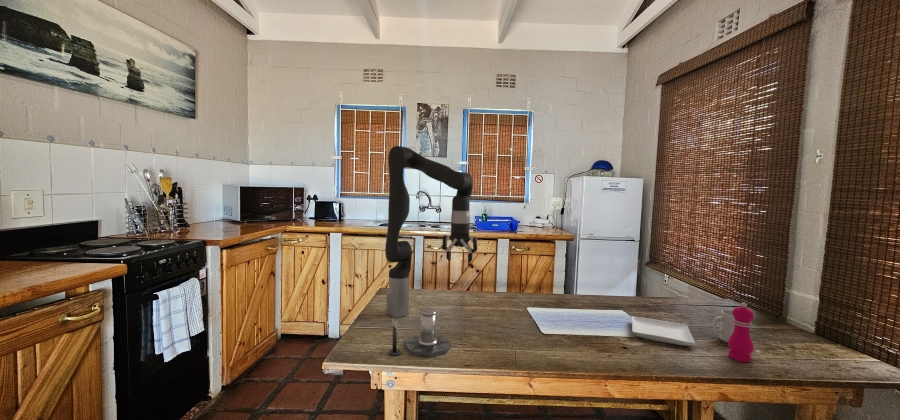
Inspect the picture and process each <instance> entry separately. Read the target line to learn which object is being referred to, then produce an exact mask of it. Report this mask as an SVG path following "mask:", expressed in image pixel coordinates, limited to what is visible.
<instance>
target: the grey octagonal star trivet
mask: <svg viewBox="0 0 900 420" xmlns="http://www.w3.org/2000/svg"><path fill="white" fill-rule="evenodd" d="M419 338H421V333H420V334H416V335H410V336H409V337H408V338H407V339H411V340H410V341H404V342H403V349H404V350H405V351H406V352H408V354H409V355H410V356H414V357H415V356H416V357H421V358H428V359H429V358H433V357H440V356H443V355H444V356H445V355H446V354H448V352H449V350H450V348H451V347H452V341H451V340H449V339H448V338H447V337H445V336H444V335H443V334H436V333H435V338H436V339H437V344H436V345H434V346H431V347H425V346H421V345H419V343H418V340H419Z"/></svg>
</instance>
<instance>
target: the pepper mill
mask: <svg viewBox="0 0 900 420" xmlns="http://www.w3.org/2000/svg"><path fill="white" fill-rule="evenodd" d="M732 311H733V312H732V315H733V317H734V318H735V319H734V322H733V323H734V324H735V328H734V332H733V334H732V335H731V336H730V338H729V340H728V342H727V346H728V348H729V350H728V356H729V357H730V358H732V359H733V360H735V361H739V362H743V363H750V362H751V361H752V355H751V354H752V353H754V348H755V347H754V343H753V341H752V338H751V335H750V328H751V327H752V322H753V320H754V318H755V314H754V312H753V310H751V308H749V307H748V304H747V303H745V302H741V303H740V306H736V307H733V309H732Z"/></svg>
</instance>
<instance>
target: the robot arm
mask: <svg viewBox="0 0 900 420" xmlns="http://www.w3.org/2000/svg"><path fill="white" fill-rule="evenodd" d="M387 160H388V161H387V162H388V177H389V178H388V179H389V184H388V191H389V193H388V208H387V209H388V213H387V214H388V221H387V233H386V240H385V248H384V249H385V250H384V253H385V258H386V260H387V262H388V263H392V264H393V263H396V264H395V266H394V267H392V268H391V269H389V270H388V292H387V293H386V315H388V316H391V317H392V318H399V317H405V316H408V315H409V313H410V308H409V307H410V273H411V269H412V258H413V257H412V255H413V249H412V245H411V243H410V242H409V241H408V240H399V238H400V237H399V236H400V232H401V229H402V227H403V225H404V224H405V222H406V220H407V218H408V216H409V214H410V206H411V205H410V202H411V199H410V194H409V192H408V188H407V186H406V183H405V179H404V169H412V170H413V169H414V170H418V171H419V172H421V173H424V174H425V175H426V176H427V177H429V178H431V179H433V180H436V181H437V182H440V183H443V184H444V185H446V186H448V187H450V188H452V189H453V190H456V195H455V196H453V197H452V200H451V201H452V202H451V216H450V217H451V219H450V235H447V234H444V235H443V236H442V244H441V245H442V246H441V250H443V251H445V252H446V256H445V259H446V260H447V261H448V262H450V261H451V259H452V251H451V250H452V249H453V248H454V247H455V248H456V247H457V248H458V247H460V248H464V249H466V251H467V252H468V254H467V262H468V263H471V262H472V261H473V253H476V252H477V251H478V237H477V236H471V235H470V225H471V223H470V222H471V216H470V215H471V214H470V200H471V197H472V191H473V188H474V187H473V186H474V179H473V176H472V175H471V174H470V173H469V172H465V171H464V172H461V171H457V170H454V169H452V168H451V167H449V166H448V165H446V164H443V163H440V162H437V161H435V160H431V159H429V158H426V157H425V156H423V155H421V154H419V153H418V152H416V151H414V150H413V149H411V148H410V147H408V146H407V147H406V146H399V145H394V146H392V147H391V149H390V150H389V152H388V156H387ZM449 240H450V242H451V243H450V244H449V246H448V241H449ZM469 242H471V243H472V247H471V245H470V243H469Z"/></svg>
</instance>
